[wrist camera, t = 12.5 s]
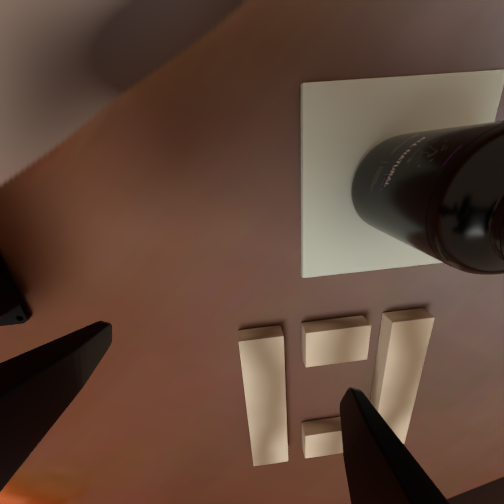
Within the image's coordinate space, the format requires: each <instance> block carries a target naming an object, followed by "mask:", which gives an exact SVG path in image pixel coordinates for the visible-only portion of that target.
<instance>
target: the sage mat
mask: <svg viewBox="0 0 504 504" xmlns="http://www.w3.org/2000/svg"><path fill="white" fill-rule="evenodd" d="M503 86H504V70H490V71H474V72H459V73H444V74H429V75H414V76H399V77H384V78H369V79H354V80H338V81H323V82H308V83H302V84H301V85H300V88H301V276H302V278H307V277H316V276H325V275H334V274H343V273H352V272H361V271H370V270H379V269H388V268H397V267H407V266H416V265H425V264H434V263H443V262H441V261H439V260H437V259H435V258H433V257H431V256H429V255H427V254H425V253H423V252H421V251H419V250H417V249H415V248H413V247H411V246H409V245H407V244H405V243H403V242H401V241H399V240H397V239H395V238H393V237H391V236H389V235H387V234H385V233H383V232H381V231H379V230H377V229H375V228H374V227H372V226H370V225H368V224H367V223H365V222H364V221H363V220H362V219H361V218H360V217H359V215H358V214H357V212H356V210H355V208H354V206H353V202H352V194H351V191H352V183H353V178H354V175H355V173H356V170H357V168H358V166H359V165H360V163H361V161H362V160H363V159H364V157H365V156H366V155H367V154H368V153H369V152H370V151H371V150H372V149H373V148H374V147H375V146H377V145H378V144H379V143H381V142H383V141H384V140H386V139H389V138H391V137H394V136H398V135H402V134H408V133H415V132H422V131H430V130H437V129H445V128H452V127H460V126H467V125H475V124H482V123H490V122H494V121H495V117H496V113H497V109H498V105H499V102H500V98H501V94H502V90H503Z"/></svg>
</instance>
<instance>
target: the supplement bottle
mask: <svg viewBox="0 0 504 504" xmlns="http://www.w3.org/2000/svg"><path fill="white" fill-rule="evenodd" d="M351 194H352V202H353V206H354V208H355V210H356V212H357V214H358V215H359V217H360V218H361V219H362V220H363V221H364V222H365V223H367V224H368V225H370V226H372V227H374V228H375V229H377V230H379V231H381V232H383V233H385V234H387V235H389V236H391V237H393V238H395V239H397V240H399V241H401V242H403V243H405V244H407V245H409V246H411V247H413V248H415V249H417V250H419V251H421V252H423V253H425V254H427V255H429V256H431V257H433V258H435V259H437V260H439V261H441V262H443V263H445V264H447V265H449V266H452V267H454V268H456V269H459V270H461V271H464V272H468V273H473V274H486V275H492V274H503V273H504V121H498V122H490V123H482V124H475V125H467V126H460V127H452V128H445V129H437V130H430V131H422V132H415V133H408V134H402V135H398V136H394V137H391V138H389V139H386V140H384V141H383V142H381V143H379V144H378V145H377V146H375V147H374V148H373V149H372V150H371V151H370V152H369V153H368V154H367V155H366V156H365V157H364V159H363V160H362V161H361V163H360V165H359V166H358V168H357V170H356V173H355V175H354V178H353V183H352V191H351Z"/></svg>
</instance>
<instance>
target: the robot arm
mask: <svg viewBox="0 0 504 504" xmlns="http://www.w3.org/2000/svg"><path fill="white" fill-rule="evenodd" d="M21 316H22V317H21ZM30 317H31V316H30V313H29V311H28V309H27V307H26V305H25V303H24V301H23V299H22V297H21V295H20V293H19V291H18V289H17V287H16V285H15V283H14V281H13V279H12V277H11V275H10V273H9V271H8V269H7V267H6V265H5V263H4V261H3V259H2V257H1V255H0V326H3V325H12V324H21V323H25V322H26V321H27V320H29V319H30ZM111 342H112V325H111V324H110V323H107V322H104V321H98V322H96V323H93V324H91V325H89V326H86V327H84V328H82V329H79V330H77V331H75V332H72V333H70V334H68V335H65V336H63V337H61V338H58V339H56V340H54V341H51V342H49V343H47V344H44V345H42V346H40V347H37V348H35V349H33V350H30V351H28V352H25V353H23V354H21V355H18V356H16V357H14V358H11V359H9V360H7V361H4V362H2V363H0V491H1V490H2V489H3V488H4V486H5V485H6V484H7V483H8V481H9V480H10V479H11V477H12V476H13V475H14V474H15V472H16V471H17V470H18V469H19V467H20V466H21V465H22V464H23V462H24V461H25V460H26V459H27V457H28V456H29V455H30V453H31V452H32V451H33V450H34V448H35V447H36V446H37V445H38V443H39V442H40V441H41V440H42V438H43V437H44V436H45V435H46V433H47V432H48V431H49V429H50V428H51V427H52V426H53V424H54V423H55V422H56V421H57V419H58V418H59V417H60V416H61V414H62V413H63V412H64V411H65V409H66V408H67V407H68V405H69V404H70V403H71V402H72V400H73V399H74V398H75V397H76V395H77V394H78V393H79V391H80V390H81V389H82V388H83V386H84V385H85V383H86V382H87V380H88V379H89V377H90V376H91V374H92V373H93V371H94V370H95V368H96V367H97V365H98V364H99V362H100V360H101V359H102V357H103V356H104V354H105V353H106V351H107V350H108V348H109V347H110V345H111ZM340 419H341V432H342V445H343V456H344V463H345V469H346V475H347V481H348V487H349V492H350V498H351V504H450V503H449V502H448V501H447V499H446V498H445V497H444V496H443V494H442V493H441V492H440V490H439V489H438V488H437V487H436V485H435V484H434V483H433V481H432V480H431V479H430V478H429V476H428V475H427V474H426V472H425V471H424V470H423V469H422V467H421V466H420V465H419V464H418V462H417V461H416V460H415V458H414V457H413V456H412V455H411V453H410V452H409V451H408V449H407V448H406V447H405V446H404V444H403V443H402V442H401V441H400V439H399V438H398V437H397V435H396V434H395V433H394V432H393V430H392V429H391V428H390V426H389V425H388V424H387V423H386V421H385V420H384V419H383V417H382V416H381V415H380V414H379V412H378V411H377V410H376V409H375V407H374V406H373V405H372V403H371V402H370V401H369V400H368V398H367V397H366V396H365V394H364V393H363V392H362V391H361V390H359V389H355V388H348V390H347V391H346V393H345V395H344V396H343V398H342V400H341V402H340Z"/></svg>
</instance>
